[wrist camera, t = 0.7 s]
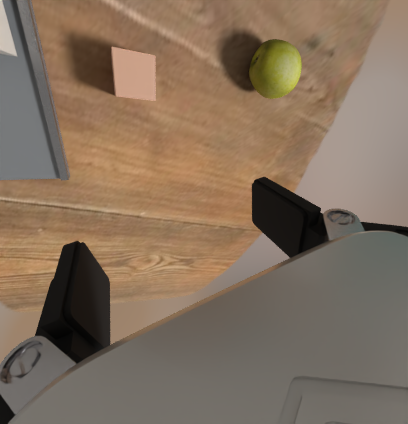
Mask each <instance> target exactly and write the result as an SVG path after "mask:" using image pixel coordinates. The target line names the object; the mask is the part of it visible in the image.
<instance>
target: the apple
mask: <svg viewBox="0 0 408 424" xmlns="http://www.w3.org/2000/svg"><path fill="white" fill-rule="evenodd" d="M301 68H302V64H301V57H300V54H299V52H298V50H297V49H296V48H295V47H294V46H293V45H291V44H290V43H288V42H286V41H283V40H277V39H273V40H268V41H266V42H264V43H263V44H262V45H261V46H260V47H259V48H258V50H257V51H256V52H255V54H254V56H253V58H252V61H251V65H250V69H249V76H250V80H251V82H252V84H253V86H254V88H255V89H256V91H257V92H258V93H259V94H260V95H262V96H263V97H265V98H270V99H273V98H279V97H282V96H284V95H286V94H288V93H289V92H291V91H292V90H293V89H294V87H295V86H296V84H297V82H298V80H299V77H300V74H301Z"/></svg>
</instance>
